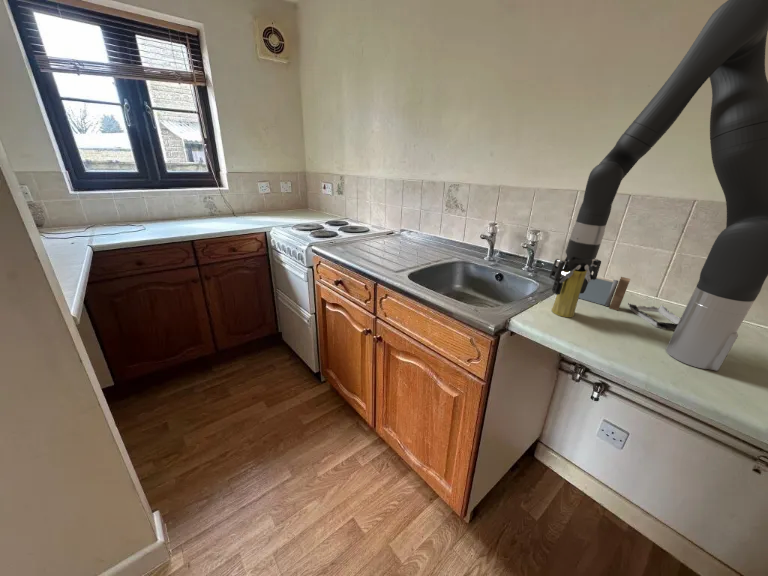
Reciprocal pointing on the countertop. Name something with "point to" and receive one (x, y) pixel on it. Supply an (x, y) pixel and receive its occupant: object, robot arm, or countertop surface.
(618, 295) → the gate post
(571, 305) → the vase
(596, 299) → the grey flat panel
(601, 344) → the countertop surface
